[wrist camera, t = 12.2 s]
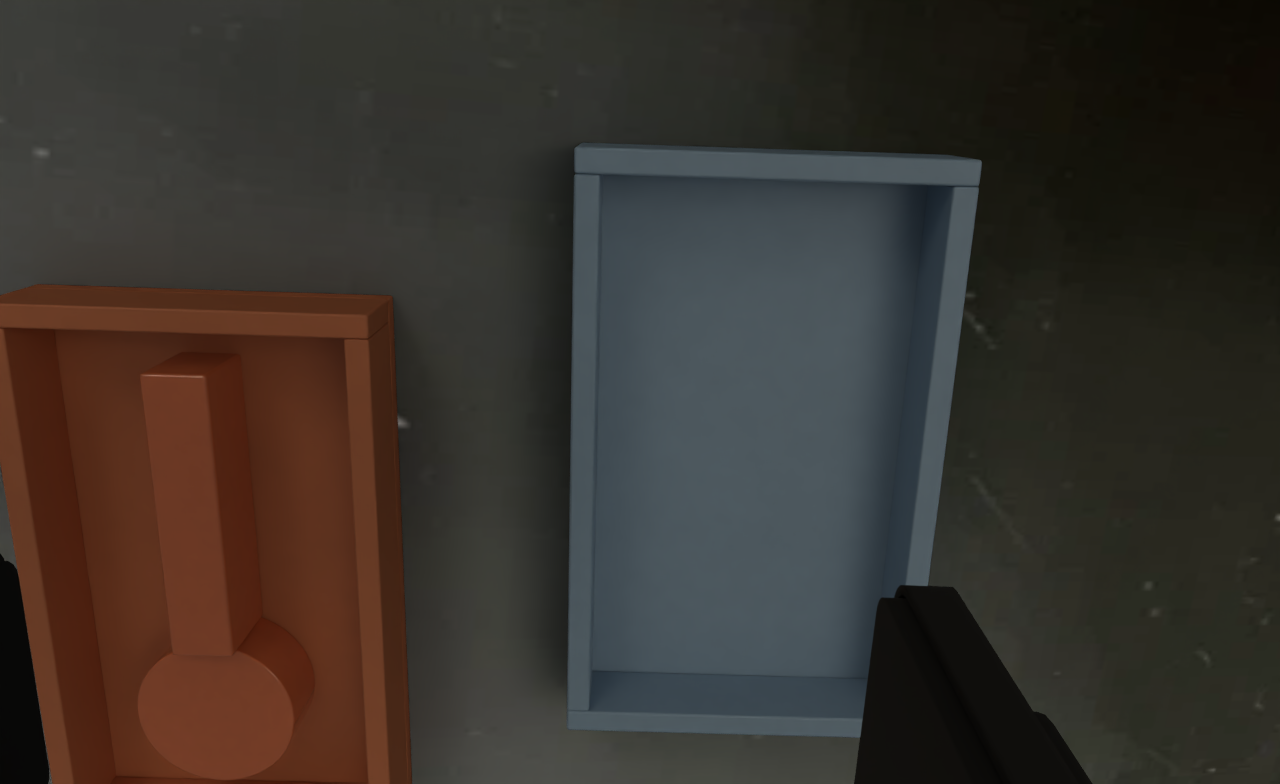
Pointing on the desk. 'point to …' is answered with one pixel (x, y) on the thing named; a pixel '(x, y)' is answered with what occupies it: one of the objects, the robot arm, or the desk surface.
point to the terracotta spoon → (213, 583)
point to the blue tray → (753, 425)
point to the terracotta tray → (283, 509)
